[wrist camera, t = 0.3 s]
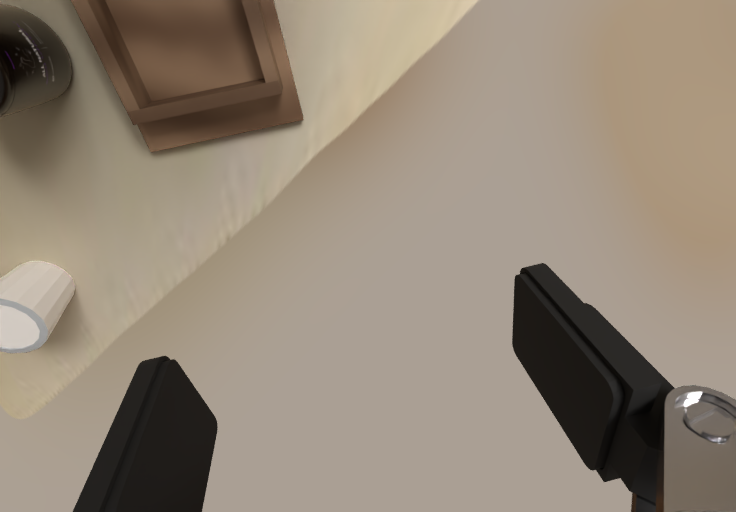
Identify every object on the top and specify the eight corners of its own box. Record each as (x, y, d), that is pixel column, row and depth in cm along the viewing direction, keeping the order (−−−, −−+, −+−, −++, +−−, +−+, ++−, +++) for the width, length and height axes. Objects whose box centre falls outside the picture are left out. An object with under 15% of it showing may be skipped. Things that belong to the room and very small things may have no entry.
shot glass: (92, 274, 41) (58, 318, 36) (69, 316, 44) (34, 363, 38) (17, 244, 38) (-33, 286, 33) (-3, 290, 41) (-53, 337, 35)
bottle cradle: (25, -115, 26) (-15, -133, 22) (234, -154, 26) (224, -177, 23) (154, 148, 36) (139, 163, 32) (303, 117, 36) (303, 128, 33)
